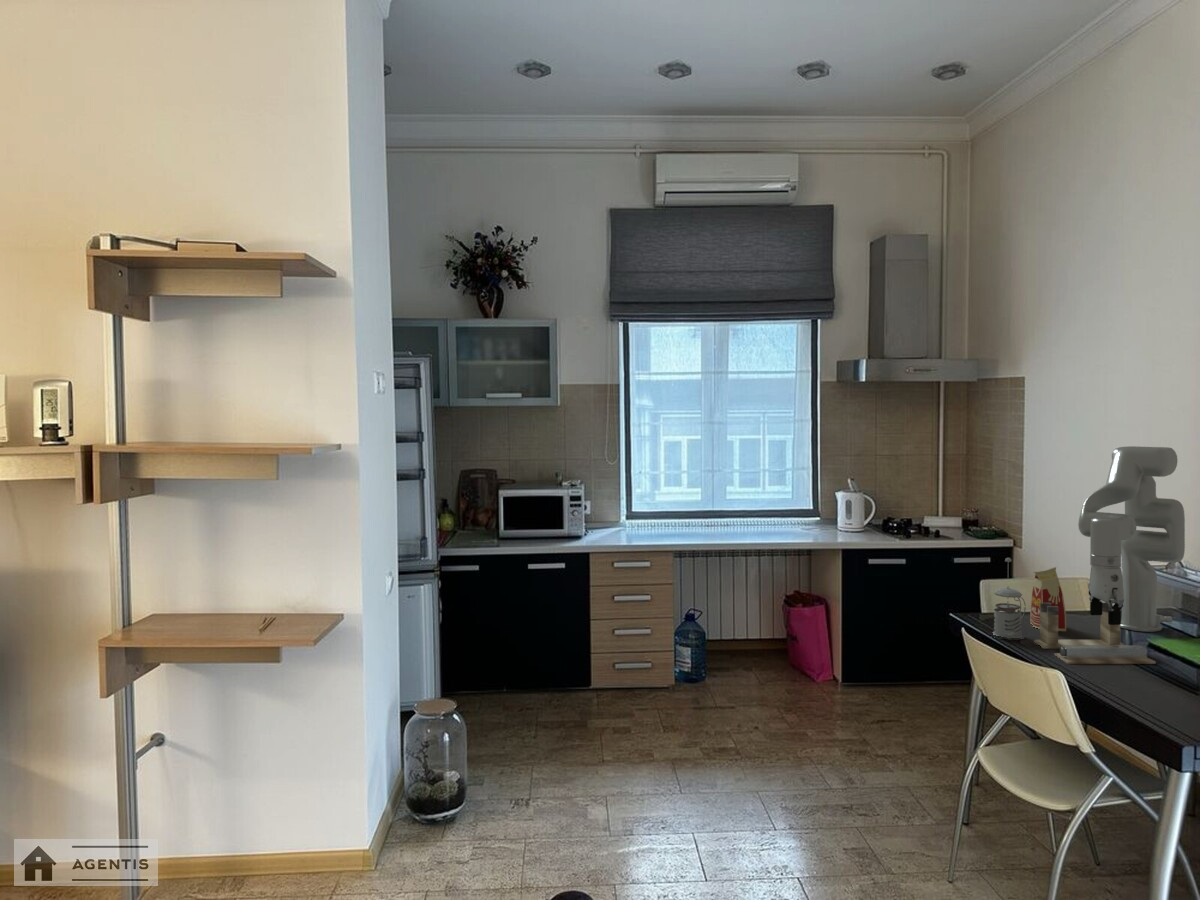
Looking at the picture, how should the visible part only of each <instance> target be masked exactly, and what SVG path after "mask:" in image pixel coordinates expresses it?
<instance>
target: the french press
mask: <svg viewBox="0 0 1200 900" xmlns="http://www.w3.org/2000/svg"><path fill="white" fill-rule="evenodd" d="M1012 561H1013V560H1012V559H1011V557H1006V558H1005V560H1004V562H1006V563H1007V577H1010V576H1009V569H1010V568H1009V566H1010V565H1009V563H1011V562H1012ZM993 594H994V595H995V596H998V597H1003V598H1013V600H1014V601H1015V602H1019V604H1015V603H1008V602H1007V603H1006V602H1004V603H1003V602H1002V603H996V604H995V607H996V608H994V611H993V612H994V613H993V616H994V617H993V621H994V622H993V629H994V630H993V632H992V633H993V635H996V636H1001V637H1007V638H1020V637H1022V636H1024V635H1023V634H1022V619H1023V618H1024V616H1025V613H1026V608H1024V610H1023V614H1022V603H1021V600H1022V601H1023V604H1024V605H1026V602H1025V599H1024V598H1023V597H1022V596H1023V593H1022V592H1021V591H1019V590H1017V589H1015V588H1011V587H1004V588H999V589H996V590H994V592H993ZM1016 610H1017V612H1016Z"/></svg>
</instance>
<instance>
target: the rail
mask: <svg viewBox="0 0 1200 900" xmlns="http://www.w3.org/2000/svg"><path fill="white" fill-rule="evenodd" d="M1058 651H1059V653H1060V655H1061V656H1063V657H1065V658H1066V659H1147V657H1149V654H1150V652H1149V648H1147V647H1145V646H1143V645H1138V644H1137V645H1136V644H1135V645H1134V644H1132V645H1131V644H1130V645H1126V644H1125V645H1062V648H1059V649H1058Z"/></svg>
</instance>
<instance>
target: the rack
mask: <svg viewBox="0 0 1200 900" xmlns="http://www.w3.org/2000/svg"><path fill="white" fill-rule="evenodd" d="M1058 609H1059V607H1058V606H1051V603H1040V630H1039V639H1034V640H1033V643H1034V642H1035V643H1037V644H1038V645H1040V646H1041V648H1042V649H1060V648H1062V645H1126V644H1125V643H1123V642H1121V627H1120V625H1109V624H1108V611H1109V610H1110V609H1109V606H1108V604H1107V603H1106V602H1102V615H1100V620H1099V621H1100V624H1099V625H1100V630H1099V635H1100V636H1099V639H1059V631H1058ZM1035 643H1034V644H1035ZM1037 644H1036V645H1037ZM1038 645H1037V646H1038ZM1040 646H1039V647H1040Z"/></svg>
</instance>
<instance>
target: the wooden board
mask: <svg viewBox="0 0 1200 900" xmlns="http://www.w3.org/2000/svg"><path fill="white" fill-rule="evenodd" d="M1053 654H1054V655H1055V656H1054V655H1053V656H1054V657H1056V656H1057V657H1056V658H1058V659H1059V658H1060V659H1059V660H1061V661H1062V660H1063V662H1064V663H1066V664H1068V665H1069V664H1071V665H1074V664H1075V665H1078V664H1079V665H1080V664H1083V665H1085V664H1086V665H1087V664H1089V665H1090V664H1091V665H1092V664H1093V665H1094V664H1096V665H1097V664H1102V665H1104V664H1105V665H1106V664H1108V665H1109V664H1110V665H1111V664H1113V665H1114V664H1115V665H1118V664H1119V665H1120V664H1123V665H1127V664H1131V665H1133V664H1135V665H1136V664H1137V665H1140V664H1141V665H1142V664H1143V665H1144V664H1145V665H1147V664H1149V665H1152V664H1153V665H1155V664H1156V663H1157V662H1156V661H1155V659H1154V660H1153V659H1151V658H1149V656H1147V659H1066V658H1065V657H1063V656H1061V655H1060V652H1059V653H1058V652H1056V653H1055V652H1054V653H1053Z"/></svg>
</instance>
